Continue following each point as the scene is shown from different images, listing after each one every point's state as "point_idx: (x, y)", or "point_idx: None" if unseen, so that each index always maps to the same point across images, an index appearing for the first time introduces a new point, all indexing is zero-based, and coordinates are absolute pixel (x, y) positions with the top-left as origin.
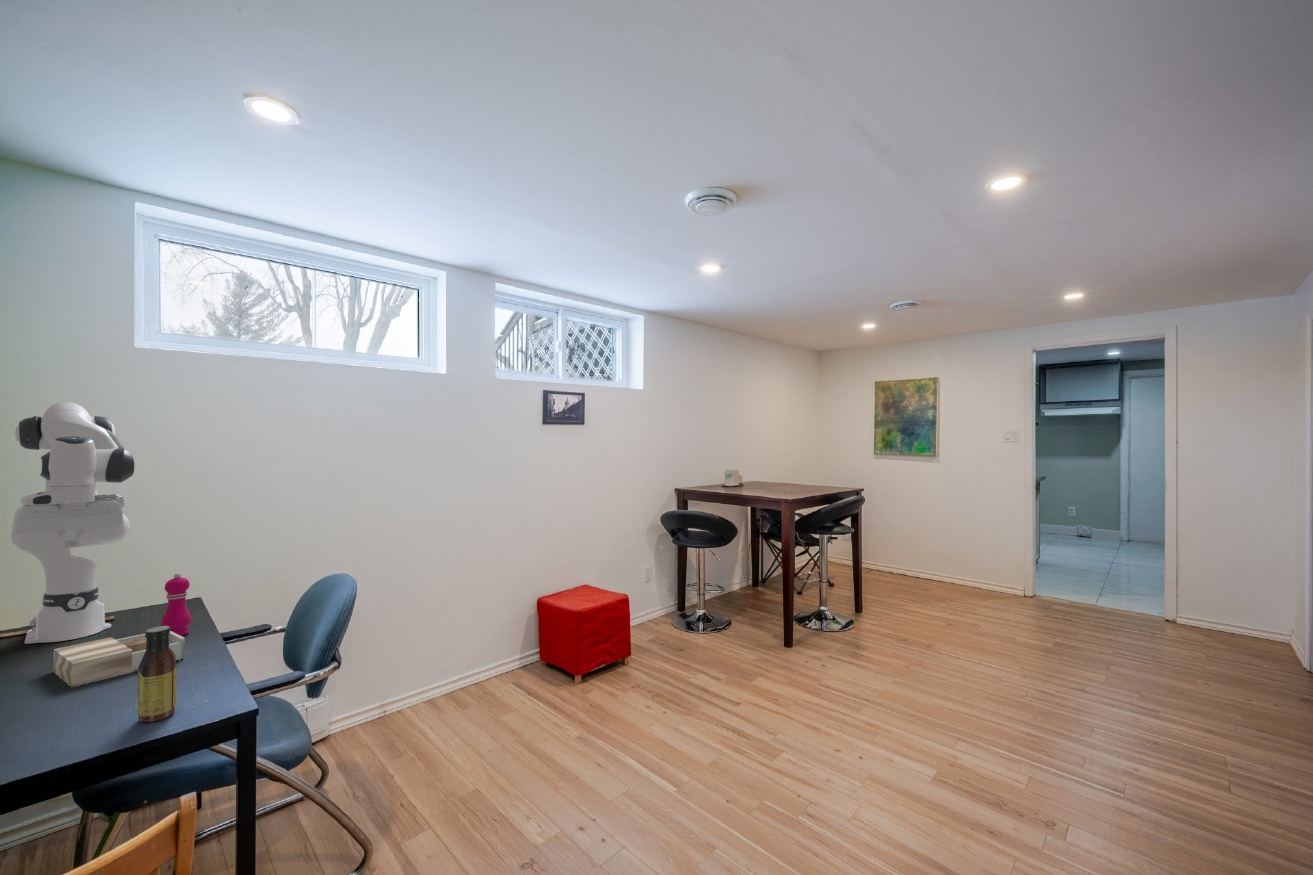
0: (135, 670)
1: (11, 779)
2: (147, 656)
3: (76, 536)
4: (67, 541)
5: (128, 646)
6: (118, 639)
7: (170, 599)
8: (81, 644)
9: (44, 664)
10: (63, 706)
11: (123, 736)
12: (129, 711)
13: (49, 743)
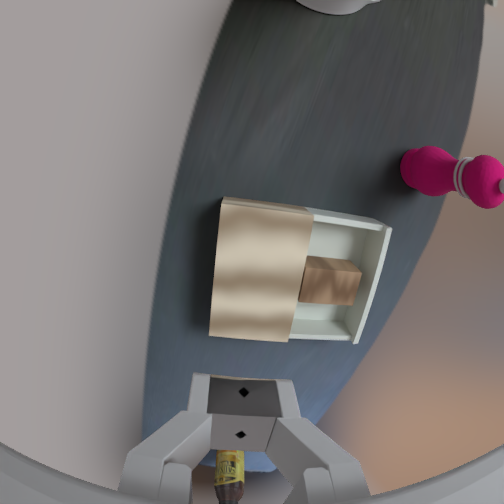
0: None
1: None
2: (218, 499)
3: (298, 447)
4: (214, 447)
5: (301, 301)
6: (323, 218)
7: (455, 181)
8: (262, 217)
9: (232, 127)
10: (187, 368)
11: None
12: None
13: None
